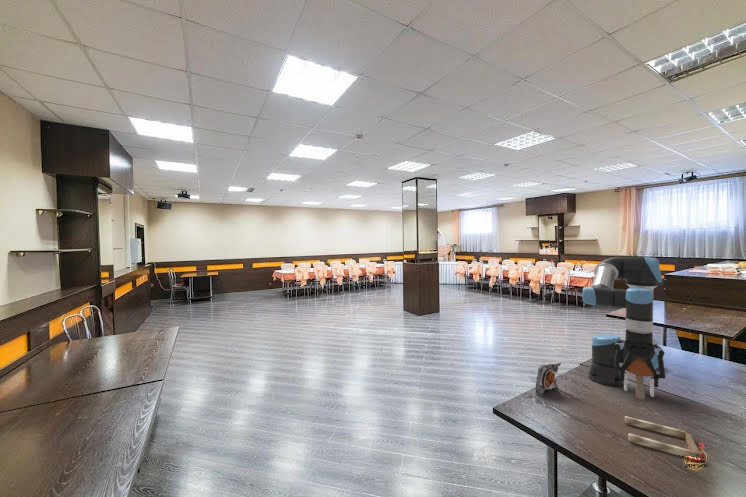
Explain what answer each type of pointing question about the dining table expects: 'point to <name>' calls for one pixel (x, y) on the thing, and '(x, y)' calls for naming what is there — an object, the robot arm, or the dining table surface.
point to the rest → (660, 445)
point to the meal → (546, 377)
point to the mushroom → (639, 375)
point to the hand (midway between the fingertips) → (638, 392)
